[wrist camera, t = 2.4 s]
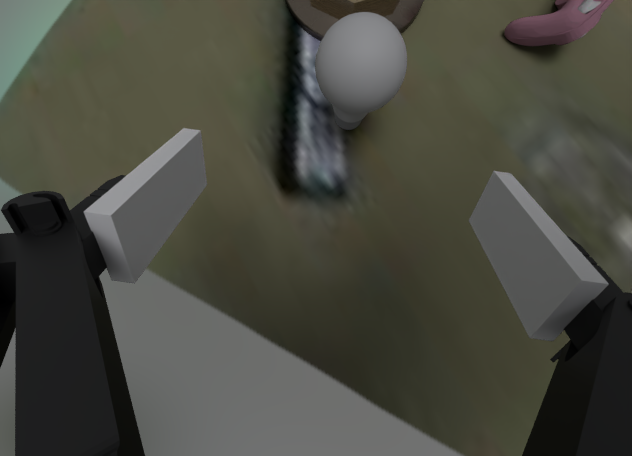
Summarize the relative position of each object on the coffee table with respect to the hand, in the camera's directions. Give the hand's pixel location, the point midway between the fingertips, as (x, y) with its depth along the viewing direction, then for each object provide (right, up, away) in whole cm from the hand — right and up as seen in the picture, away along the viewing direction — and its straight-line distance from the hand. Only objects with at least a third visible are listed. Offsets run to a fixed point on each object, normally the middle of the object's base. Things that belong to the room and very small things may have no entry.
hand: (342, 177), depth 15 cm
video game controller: (+22, +18, +17) cm, 33 cm away
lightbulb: (+2, +8, +15) cm, 17 cm away
